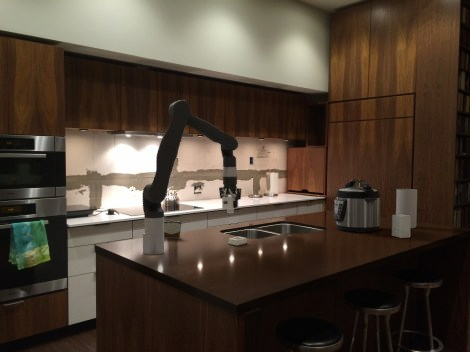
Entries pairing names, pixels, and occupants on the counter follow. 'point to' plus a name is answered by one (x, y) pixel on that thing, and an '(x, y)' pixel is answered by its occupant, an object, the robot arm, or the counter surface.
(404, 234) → the supplement box
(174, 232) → the food container
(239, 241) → the socket block
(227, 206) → the plug
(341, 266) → the counter surface
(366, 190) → the pressure cooker
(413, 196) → the cylinder vase
